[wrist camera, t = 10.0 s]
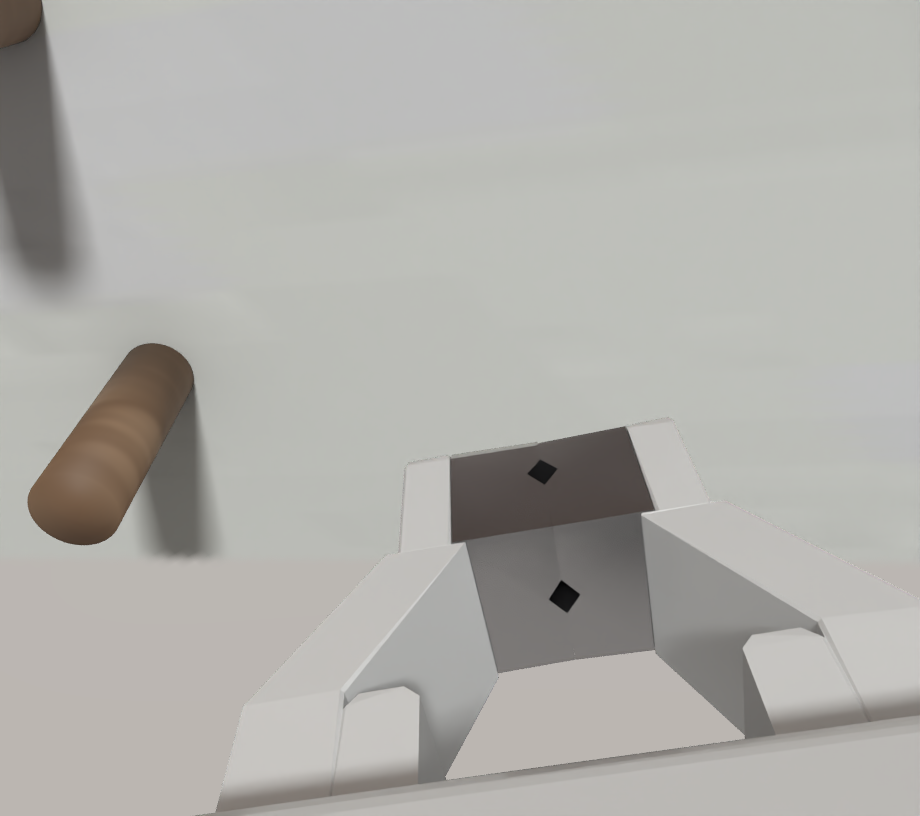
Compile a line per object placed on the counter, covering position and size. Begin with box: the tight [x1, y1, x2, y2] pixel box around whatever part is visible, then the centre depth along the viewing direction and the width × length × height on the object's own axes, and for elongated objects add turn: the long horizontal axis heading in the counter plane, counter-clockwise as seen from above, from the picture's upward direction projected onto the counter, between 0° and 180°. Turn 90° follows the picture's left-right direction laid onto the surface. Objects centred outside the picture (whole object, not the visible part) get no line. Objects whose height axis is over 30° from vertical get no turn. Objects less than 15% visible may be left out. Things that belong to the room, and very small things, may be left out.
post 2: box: [28, 343, 194, 545], centre depth 27 cm, size 2×2×8 cm
